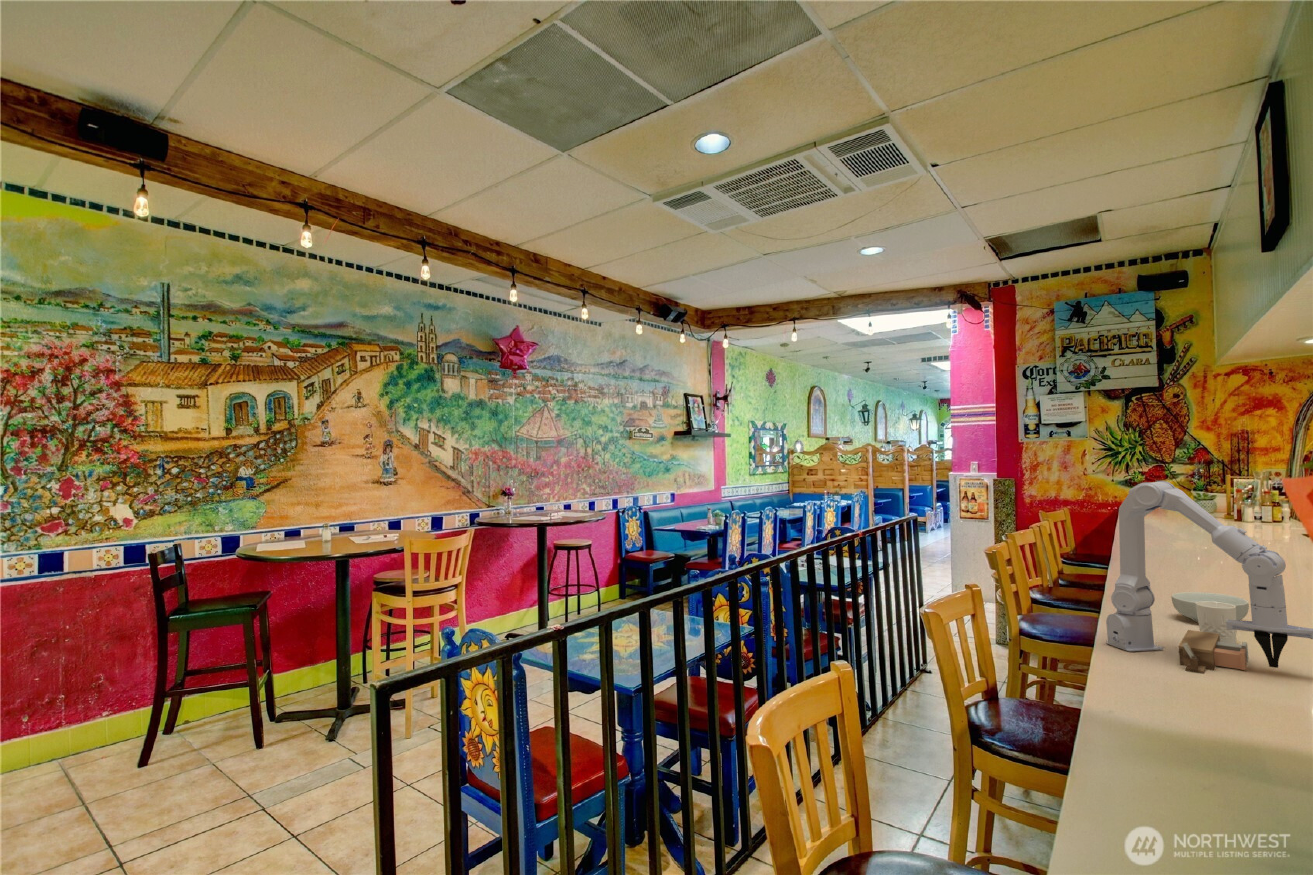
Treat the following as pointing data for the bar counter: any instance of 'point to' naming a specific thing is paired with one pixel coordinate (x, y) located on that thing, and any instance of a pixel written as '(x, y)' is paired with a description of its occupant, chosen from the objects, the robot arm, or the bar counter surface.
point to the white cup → (1217, 619)
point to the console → (1199, 650)
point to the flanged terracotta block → (1230, 658)
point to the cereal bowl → (1187, 600)
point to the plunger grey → (1233, 647)
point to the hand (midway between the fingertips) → (1273, 666)
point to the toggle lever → (1189, 651)
